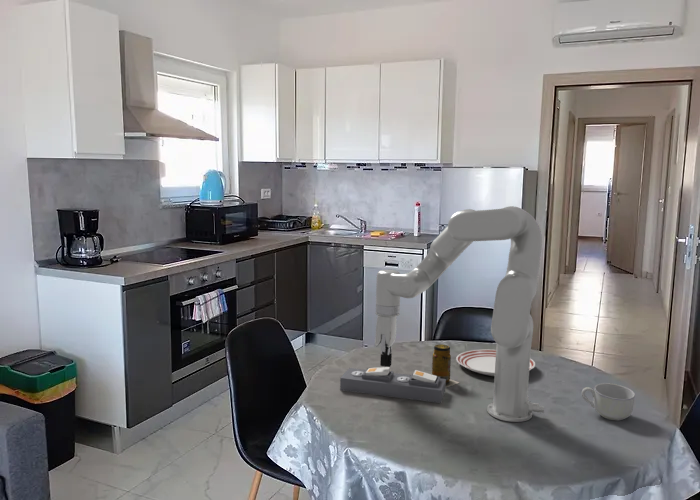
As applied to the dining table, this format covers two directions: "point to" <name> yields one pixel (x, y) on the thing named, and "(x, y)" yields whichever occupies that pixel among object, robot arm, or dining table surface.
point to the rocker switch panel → (393, 385)
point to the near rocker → (424, 376)
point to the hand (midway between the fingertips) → (385, 365)
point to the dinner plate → (481, 361)
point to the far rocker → (378, 371)
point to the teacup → (611, 400)
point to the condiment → (442, 363)
